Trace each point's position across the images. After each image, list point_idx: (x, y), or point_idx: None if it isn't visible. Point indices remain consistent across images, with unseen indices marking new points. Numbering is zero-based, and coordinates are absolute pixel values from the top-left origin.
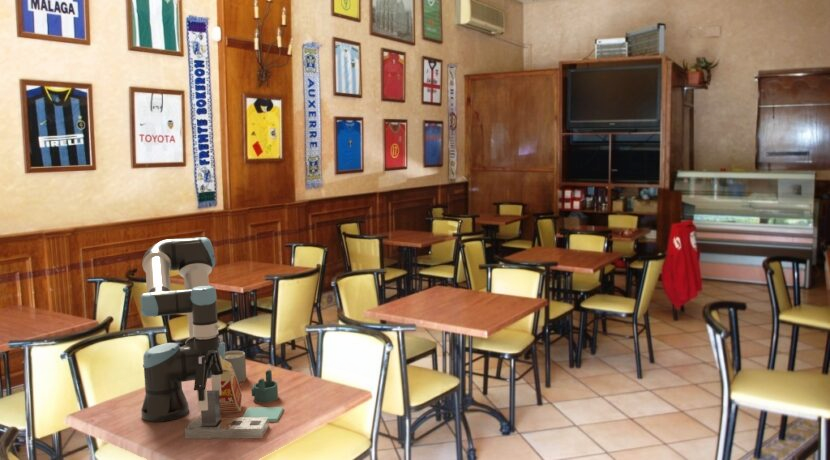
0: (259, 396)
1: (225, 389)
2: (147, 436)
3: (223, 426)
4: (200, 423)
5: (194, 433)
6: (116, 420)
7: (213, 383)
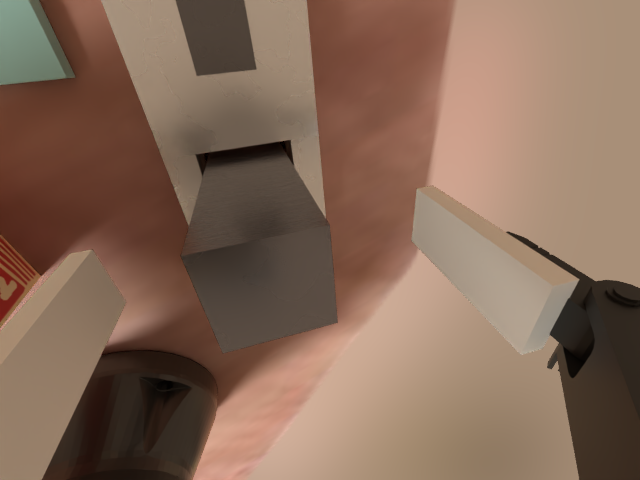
0: None
1: None
2: (312, 342)
3: (279, 107)
4: None
5: None
6: (230, 445)
7: (74, 380)
